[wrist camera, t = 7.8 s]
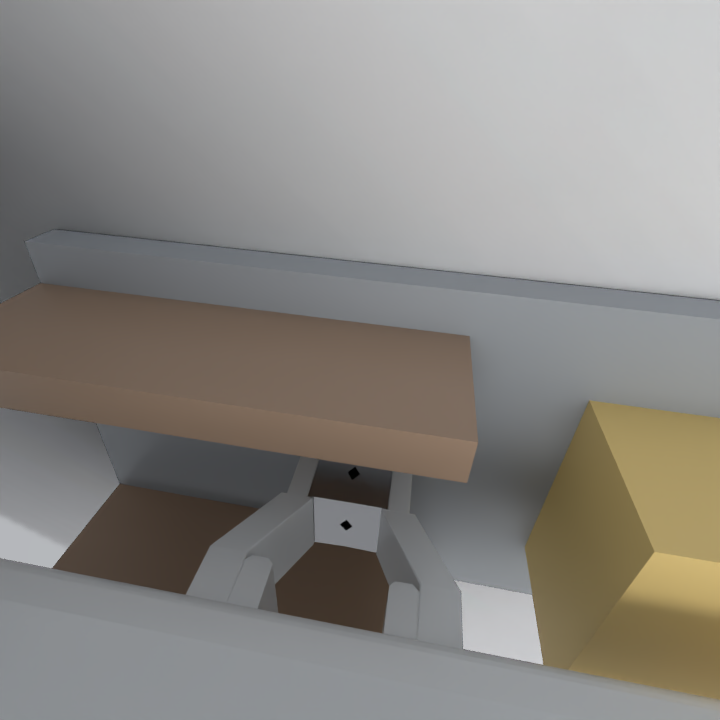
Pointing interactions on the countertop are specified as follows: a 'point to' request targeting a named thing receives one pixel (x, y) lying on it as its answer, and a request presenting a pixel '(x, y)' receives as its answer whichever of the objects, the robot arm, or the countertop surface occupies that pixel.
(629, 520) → the ochre block
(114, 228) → the countertop surface
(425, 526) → the chute
